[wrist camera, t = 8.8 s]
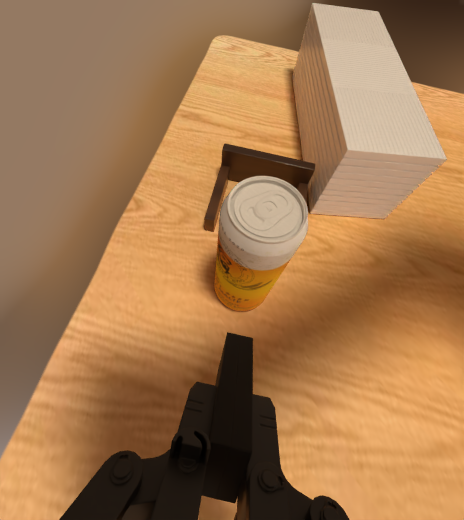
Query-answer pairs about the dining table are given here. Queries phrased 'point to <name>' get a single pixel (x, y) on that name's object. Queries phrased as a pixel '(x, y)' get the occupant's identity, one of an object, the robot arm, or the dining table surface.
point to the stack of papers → (359, 116)
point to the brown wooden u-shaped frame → (255, 174)
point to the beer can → (257, 239)
